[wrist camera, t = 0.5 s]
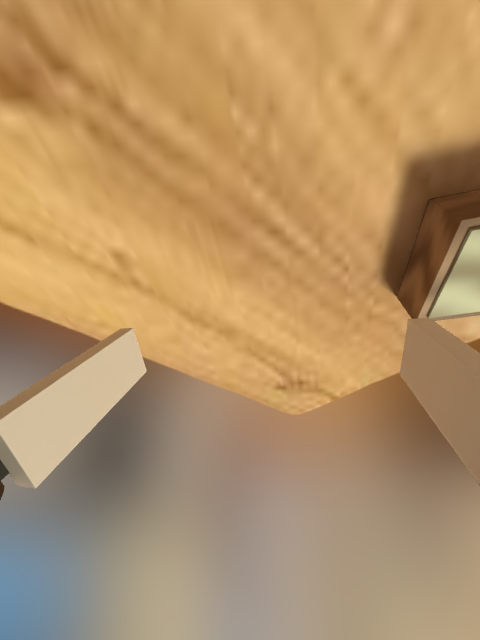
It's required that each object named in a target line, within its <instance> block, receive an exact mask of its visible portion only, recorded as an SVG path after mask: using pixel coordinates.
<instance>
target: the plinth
mask: <svg viewBox="0 0 480 640" xmlns="http://www.w3.org/2000/svg"><path fill="white" fill-rule="evenodd" d="M397 298H398V300H399V301H400V302H401V304H402V305H403V307H404V308H405V309H406V311H407V312H408V314H409V315H410V316H411V318H412V319H420V318H430V319H431V320H433V321H437V320H445V319H453V318H461V317H469V316H477V315H480V190H475V191H470V192H465V193H460V194H455V195H450V196H445V197H440V198H435V199H430V200H429V202H428V205H427V208H426V211H425V214H424V217H423V220H422V223H421V226H420V229H419V232H418V235H417V238H416V241H415V244H414V247H413V250H412V253H411V256H410V259H409V262H408V265H407V268H406V271H405V274H404V277H403V280H402V283H401V286H400V289H399V292H398V295H397Z"/></svg>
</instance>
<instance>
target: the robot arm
mask: <svg viewBox="0 0 480 640" xmlns="http://www.w3.org/2000/svg"><path fill="white" fill-rule="evenodd" d="M144 373H146V368H145V365H144V361H143V358H142V355H141V352H140V348H139V345H138V342H137V339H136V336H135V332H134V329H133V328H126V329H120V330H118V331H117V332H115V333H113V334H112V335H110V336H109V337H107V338H106V339H104V340H103V341H101V342H99V343H98V344H96V345H95V346H93V347H92V348H90V349H88V350H87V351H85V352H84V353H83V354H81V355H79V356H78V357H76V358H74V359H73V360H72V361H70V362H68V363H67V364H65V365H64V366H62V367H61V368H59V369H57V370H56V371H54V372H53V373H51V374H49V375H48V376H46V377H45V378H43V379H42V380H40V381H39V382H37V383H35V384H34V385H32V386H31V387H29V388H28V389H26V390H25V391H23V392H21V393H20V394H18V395H17V396H15V397H14V398H12V399H11V400H9V401H8V402H6V403H4V404H3V405H1V406H0V499H1V497H2V494H3V492H4V485H3V484H2V482H1V480H2V479H3V478H4V477H5V476H6V475H8V474H10V475H11V477H12V478H13V480H14V481H15V483H16V484H17V485H18V486H23V487H30V488H37V486H38V485H39V484H40V483H41V482H42V481H43V480H44V479H45V478H46V477H47V476H48V475H49V474H50V473H51V472H52V471H53V469H54V468H55V467H56V466H57V465H58V464H59V463H60V462H61V461H62V460H63V459H64V458H65V457H66V456H67V455H68V454H69V453H70V452H71V450H72V449H73V448H74V447H75V446H76V445H77V444H78V443H79V442H80V441H81V440H82V439H83V438H84V437H85V436H86V435H87V434H88V433H89V432H90V431H91V429H92V428H93V427H94V426H95V425H96V424H97V423H98V422H99V421H100V420H101V419H102V418H103V417H104V416H105V415H106V414H107V413H108V412H109V410H110V409H111V408H112V407H113V406H114V405H115V404H116V403H117V402H118V401H119V400H120V399H121V398H122V397H123V396H124V395H125V393H127V392H128V390H129V389H130V388H131V387H132V386H133V385H134V384H135V383H136V382H137V381H138V380H139V379H140V378H141V377H142V376H143V375H144ZM400 375H401V377H402V378H403V379H404V381H405V382H406V384H407V385H408V387H409V388H410V389H411V391H412V392H413V394H414V395H415V396H416V398H417V399H418V400H419V402H420V403H421V405H422V406H423V407H424V409H425V410H426V412H427V413H428V414H429V416H430V417H431V419H432V420H433V421H434V423H435V424H436V426H437V427H438V428H439V430H440V431H441V433H442V434H443V435H444V437H445V438H446V439H447V441H448V442H449V444H450V445H451V446H452V448H453V449H454V451H455V452H456V453H457V455H458V456H459V458H460V459H461V460H462V462H463V463H464V464H465V466H466V467H467V469H468V470H469V472H470V473H471V474H472V476H473V477H474V478H475V480H476V481H477V483H478V484H479V485H480V353H479V352H477V351H476V350H474V349H473V348H471V347H470V346H468V345H467V344H466V343H464V342H463V341H461V340H460V339H459V338H457V337H456V336H454V335H453V334H451V333H450V332H449V331H447V330H446V329H444V328H443V327H441V326H440V325H438V324H437V323H436V322H434V321H433V320H431V319H430V318H420V319H408V324H407V330H406V337H405V343H404V350H403V356H402V363H401V369H400Z"/></svg>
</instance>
